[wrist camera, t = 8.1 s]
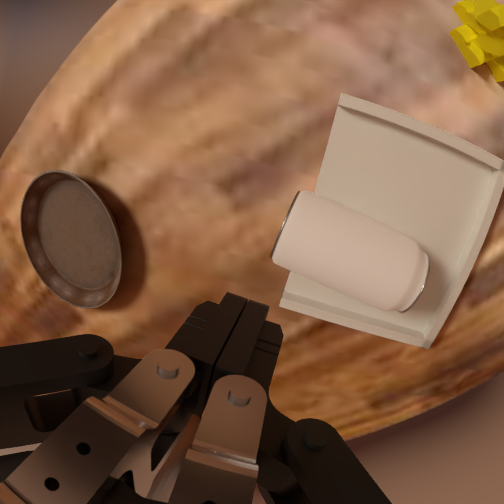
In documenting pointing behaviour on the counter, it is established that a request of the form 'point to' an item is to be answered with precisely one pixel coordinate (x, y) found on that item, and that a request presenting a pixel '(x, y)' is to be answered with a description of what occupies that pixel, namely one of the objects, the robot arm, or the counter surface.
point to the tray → (404, 212)
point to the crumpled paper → (481, 34)
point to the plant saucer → (71, 239)
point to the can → (351, 253)
